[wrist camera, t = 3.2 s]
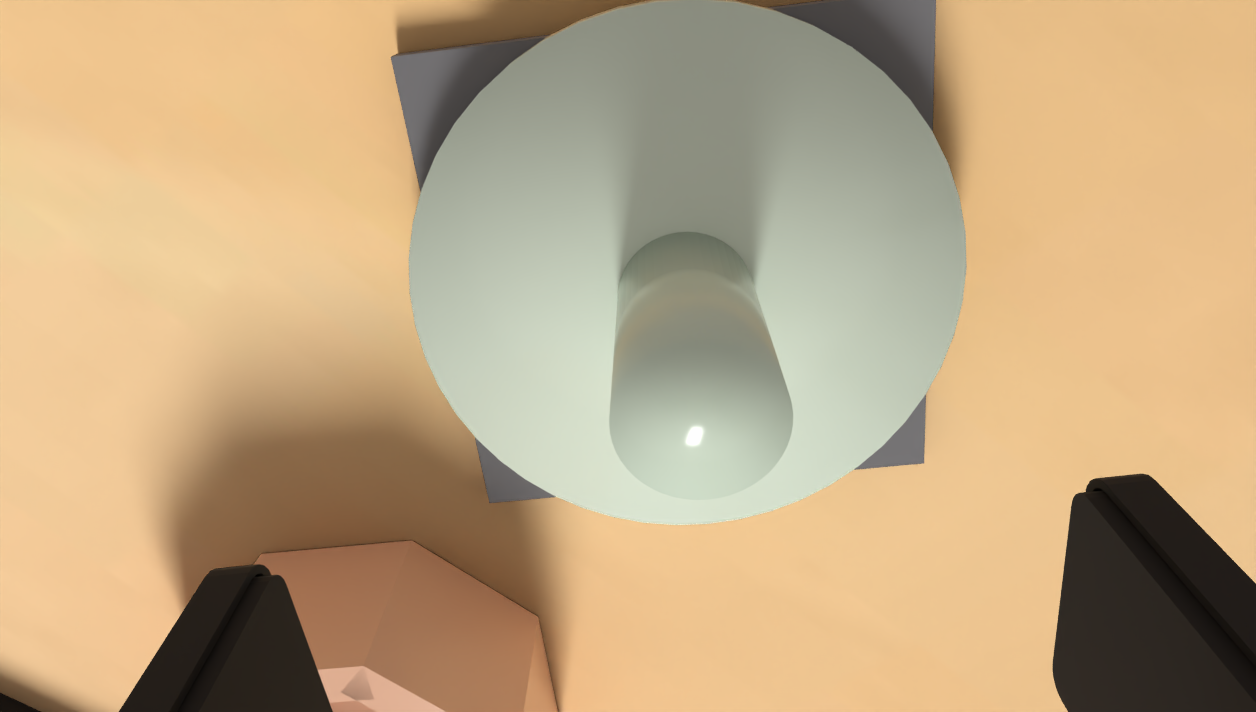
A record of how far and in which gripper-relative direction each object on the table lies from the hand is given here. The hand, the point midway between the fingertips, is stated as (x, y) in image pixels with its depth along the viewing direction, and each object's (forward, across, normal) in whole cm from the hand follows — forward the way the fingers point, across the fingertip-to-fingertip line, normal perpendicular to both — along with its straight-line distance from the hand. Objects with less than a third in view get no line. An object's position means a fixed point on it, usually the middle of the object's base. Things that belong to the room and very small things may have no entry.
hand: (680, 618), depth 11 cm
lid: (+12, -1, 0) cm, 12 cm away
